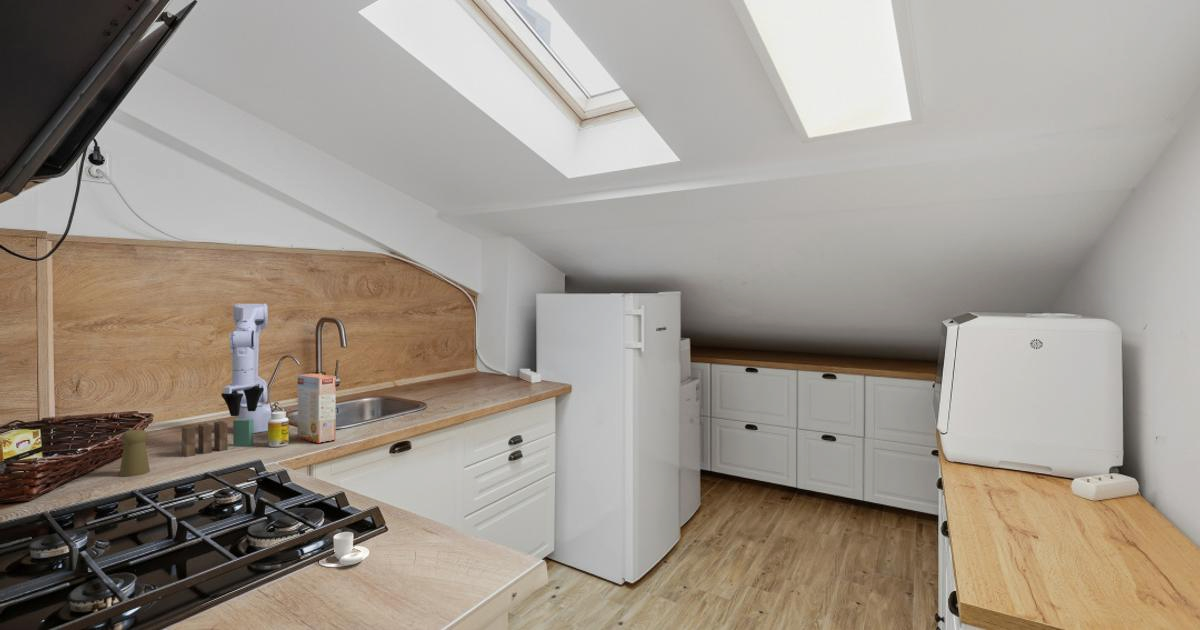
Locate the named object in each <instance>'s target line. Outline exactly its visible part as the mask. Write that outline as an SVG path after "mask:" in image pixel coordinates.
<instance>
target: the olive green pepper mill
mask: <svg viewBox="0 0 1200 630" xmlns="http://www.w3.org/2000/svg"><path fill="white" fill-rule="evenodd" d="M148 437H149V434H148V433H147V431H146V430H144V429H132V430H128V431H125V432H123V433H122V435H121V437H120V439H121V440H120V441H121V443H122V444H123V449H122V455H121V464H120V468H119V469H120V470H119V473H118V475H119V477H129V478H130V477H136V476H142V475H145V474H148V473H149V472H151V469H150V465H149V464H150V463H149V458H148V452H147V446H146V441H148Z"/></svg>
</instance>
